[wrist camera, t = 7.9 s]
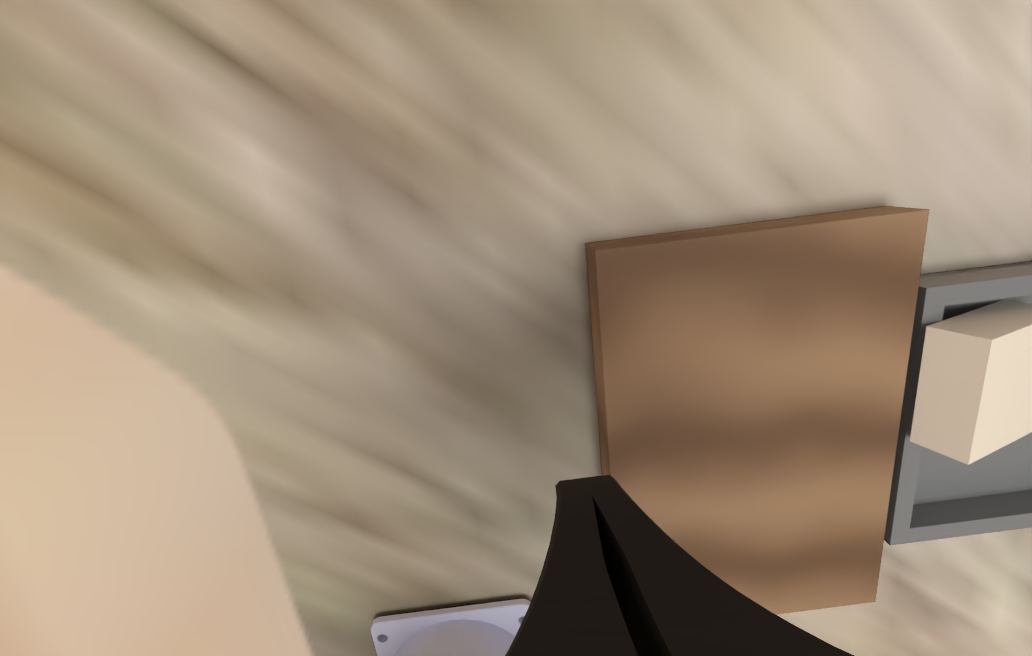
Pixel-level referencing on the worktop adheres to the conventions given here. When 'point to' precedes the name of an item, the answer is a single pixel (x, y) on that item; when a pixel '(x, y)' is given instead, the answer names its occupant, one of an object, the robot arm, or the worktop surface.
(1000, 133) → the worktop surface
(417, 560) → the worktop surface
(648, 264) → the board
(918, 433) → the block
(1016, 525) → the tray
